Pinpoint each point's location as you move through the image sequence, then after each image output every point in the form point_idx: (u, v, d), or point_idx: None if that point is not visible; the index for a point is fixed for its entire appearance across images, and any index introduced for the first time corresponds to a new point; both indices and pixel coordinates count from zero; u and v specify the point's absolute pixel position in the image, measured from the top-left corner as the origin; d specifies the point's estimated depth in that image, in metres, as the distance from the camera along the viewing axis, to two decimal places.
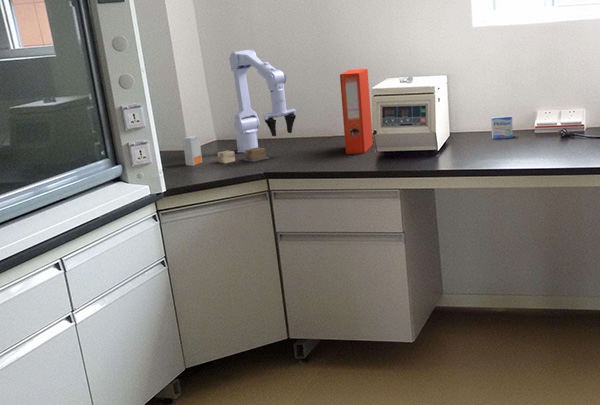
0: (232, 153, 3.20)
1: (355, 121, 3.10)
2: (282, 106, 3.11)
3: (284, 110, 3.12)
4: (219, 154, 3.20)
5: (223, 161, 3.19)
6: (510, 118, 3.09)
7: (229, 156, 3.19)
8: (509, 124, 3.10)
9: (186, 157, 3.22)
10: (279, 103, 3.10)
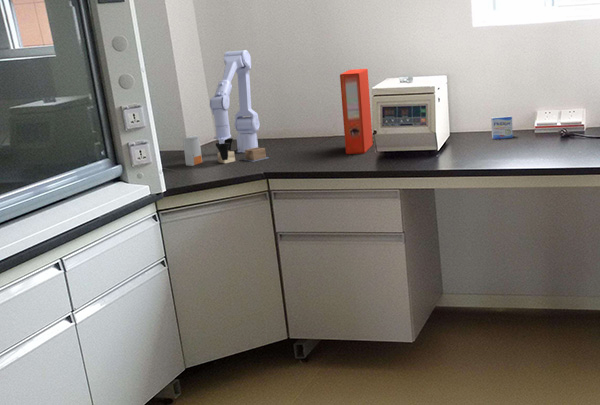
0: (232, 153, 3.20)
1: (355, 121, 3.10)
2: None
3: None
4: (219, 154, 3.20)
5: (223, 161, 3.19)
6: (510, 118, 3.09)
7: (229, 156, 3.19)
8: (509, 124, 3.10)
9: (186, 157, 3.22)
10: None
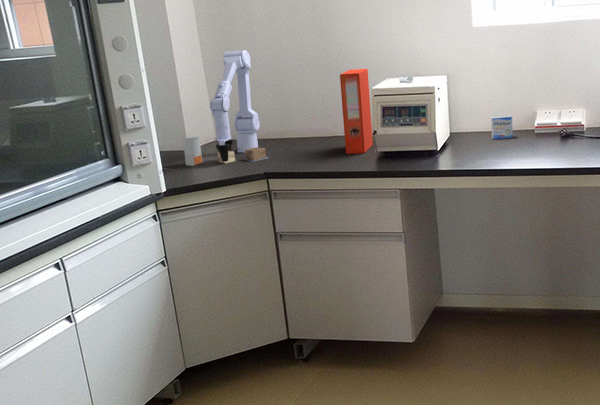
0: (232, 153, 3.20)
1: (355, 121, 3.10)
2: None
3: None
4: (219, 154, 3.20)
5: None
6: (510, 118, 3.09)
7: (229, 156, 3.19)
8: (509, 124, 3.10)
9: (186, 157, 3.22)
10: None
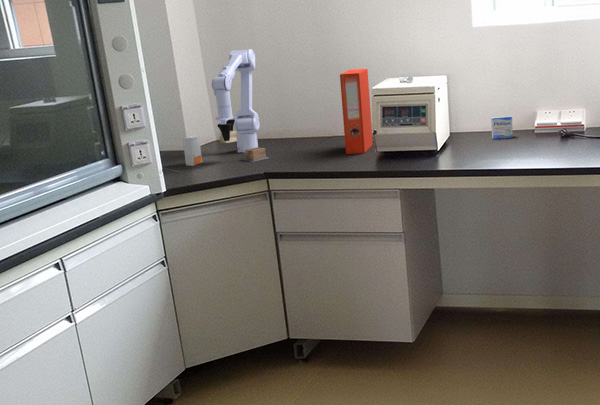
0: (234, 133, 3.18)
1: (355, 121, 3.10)
2: None
3: (218, 116, 3.16)
4: (221, 134, 3.18)
5: (225, 141, 3.17)
6: (510, 118, 3.09)
7: (231, 136, 3.17)
8: (509, 124, 3.10)
9: (186, 157, 3.22)
10: None
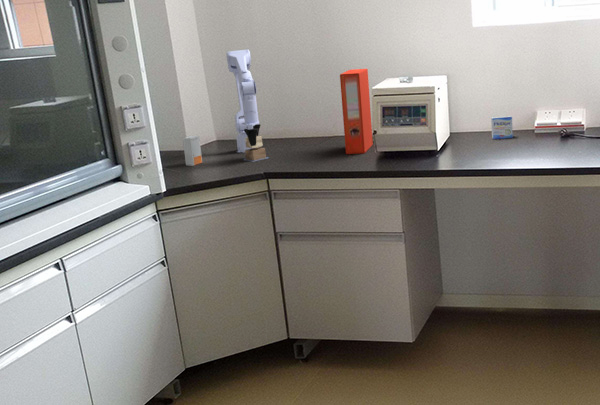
0: (259, 138, 3.18)
1: (355, 121, 3.10)
2: None
3: (244, 121, 3.17)
4: (246, 139, 3.18)
5: (250, 146, 3.17)
6: (510, 118, 3.09)
7: (257, 141, 3.17)
8: (509, 124, 3.10)
9: (186, 157, 3.22)
10: None
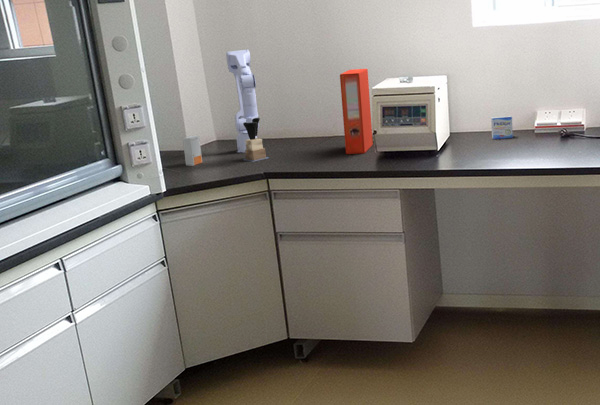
0: (260, 140, 3.18)
1: (355, 121, 3.10)
2: None
3: (243, 114, 3.16)
4: (247, 141, 3.19)
5: (251, 148, 3.17)
6: (510, 118, 3.09)
7: (257, 144, 3.17)
8: (509, 124, 3.10)
9: (186, 157, 3.22)
10: None
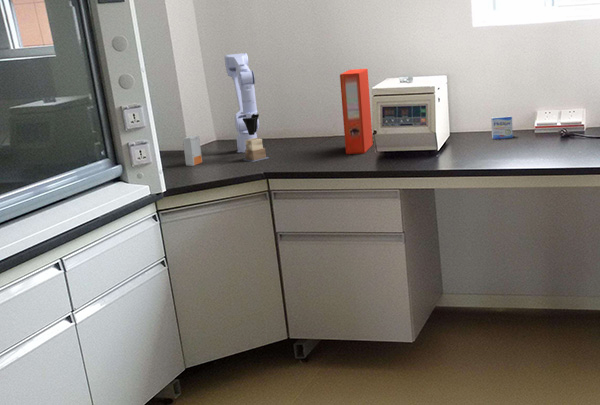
0: (260, 140, 3.18)
1: (355, 121, 3.10)
2: None
3: (243, 110, 3.21)
4: (247, 141, 3.19)
5: (251, 148, 3.17)
6: (510, 118, 3.09)
7: (257, 144, 3.17)
8: (509, 124, 3.10)
9: (186, 157, 3.22)
10: None
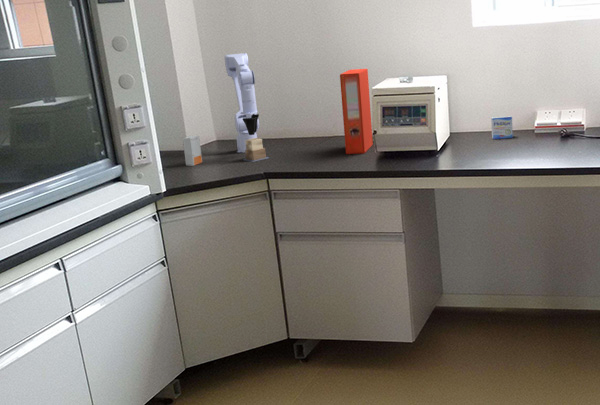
0: (260, 140, 3.18)
1: (355, 121, 3.10)
2: None
3: (243, 110, 3.21)
4: (247, 141, 3.19)
5: (251, 148, 3.17)
6: (510, 118, 3.09)
7: (257, 144, 3.17)
8: (509, 124, 3.10)
9: (186, 157, 3.22)
10: None
